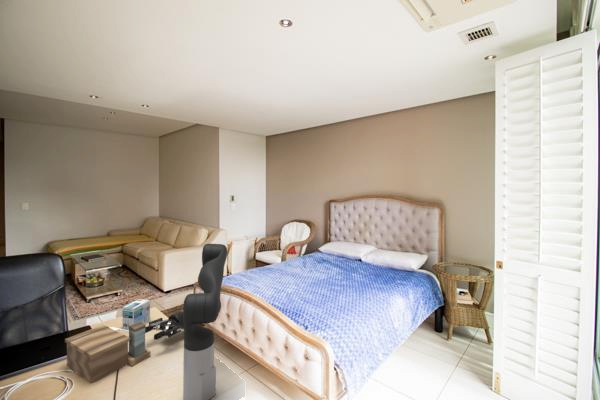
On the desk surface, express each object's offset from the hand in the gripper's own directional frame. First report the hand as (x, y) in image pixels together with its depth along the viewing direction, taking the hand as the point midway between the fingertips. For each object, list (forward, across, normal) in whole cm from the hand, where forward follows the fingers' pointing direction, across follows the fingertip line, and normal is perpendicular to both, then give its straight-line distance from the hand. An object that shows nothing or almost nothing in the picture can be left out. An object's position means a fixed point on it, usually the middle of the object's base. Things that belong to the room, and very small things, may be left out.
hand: (148, 334), depth 112 cm
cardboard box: (+11, -7, +7) cm, 15 cm away
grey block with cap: (+4, 0, +8) cm, 9 cm away
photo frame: (+2, -23, +8) cm, 25 cm away
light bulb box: (-11, -26, +8) cm, 29 cm away
